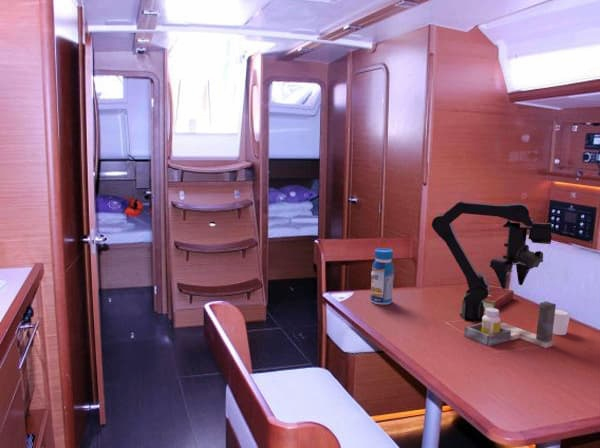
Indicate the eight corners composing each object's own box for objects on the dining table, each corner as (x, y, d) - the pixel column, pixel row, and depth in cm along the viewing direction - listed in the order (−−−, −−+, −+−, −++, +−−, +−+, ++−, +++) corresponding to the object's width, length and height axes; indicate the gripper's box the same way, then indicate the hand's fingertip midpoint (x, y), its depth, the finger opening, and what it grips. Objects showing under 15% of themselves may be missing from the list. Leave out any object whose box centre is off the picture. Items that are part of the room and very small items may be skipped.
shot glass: (570, 337, 175) (573, 316, 173) (547, 335, 176) (550, 314, 175) (564, 329, 181) (567, 309, 180) (542, 327, 183) (545, 307, 181)
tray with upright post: (464, 335, 173) (467, 296, 170) (500, 326, 182) (503, 288, 180) (517, 357, 157) (521, 314, 155) (553, 345, 167) (557, 304, 165)
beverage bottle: (394, 305, 201) (397, 252, 198) (371, 305, 201) (373, 252, 198) (390, 298, 210) (393, 247, 206) (368, 298, 210) (371, 247, 206)
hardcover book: (513, 300, 214) (514, 289, 213) (493, 312, 198) (494, 301, 197) (483, 293, 221) (484, 283, 221) (462, 305, 205) (463, 294, 205)
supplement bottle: (498, 337, 172) (501, 308, 171) (499, 344, 167) (501, 313, 166) (480, 335, 174) (483, 306, 172) (480, 341, 169) (483, 311, 167)
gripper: (520, 248, 169) (516, 297, 172) (555, 243, 179) (550, 289, 182) (490, 242, 178) (486, 288, 181) (525, 237, 188) (520, 280, 191)
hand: (512, 286), depth 183 cm, fingers open, 9 cm apart
